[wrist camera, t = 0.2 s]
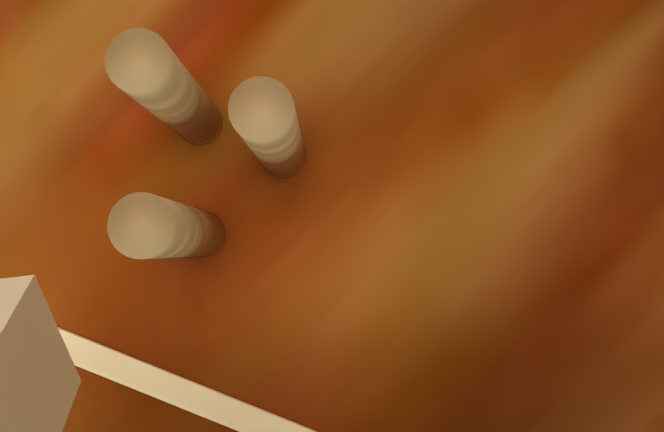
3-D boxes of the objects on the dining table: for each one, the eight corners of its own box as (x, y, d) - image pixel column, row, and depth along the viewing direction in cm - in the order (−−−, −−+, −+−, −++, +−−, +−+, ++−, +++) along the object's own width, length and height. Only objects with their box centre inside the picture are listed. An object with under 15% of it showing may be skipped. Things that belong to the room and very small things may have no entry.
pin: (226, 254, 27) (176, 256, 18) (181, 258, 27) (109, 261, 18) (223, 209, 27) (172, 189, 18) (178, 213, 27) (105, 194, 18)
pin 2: (307, 175, 27) (297, 138, 18) (262, 179, 27) (230, 144, 18) (303, 131, 28) (291, 73, 19) (259, 135, 28) (225, 78, 19)
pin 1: (223, 142, 28) (172, 90, 19) (179, 146, 28) (106, 95, 19) (220, 98, 28) (168, 25, 19) (176, 102, 28) (102, 30, 19)
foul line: (318, 431, 27) (317, 432, 27) (307, 457, 27) (307, 459, 27) (-20, 295, 27) (-22, 296, 27) (-31, 321, 27) (-33, 321, 27)
